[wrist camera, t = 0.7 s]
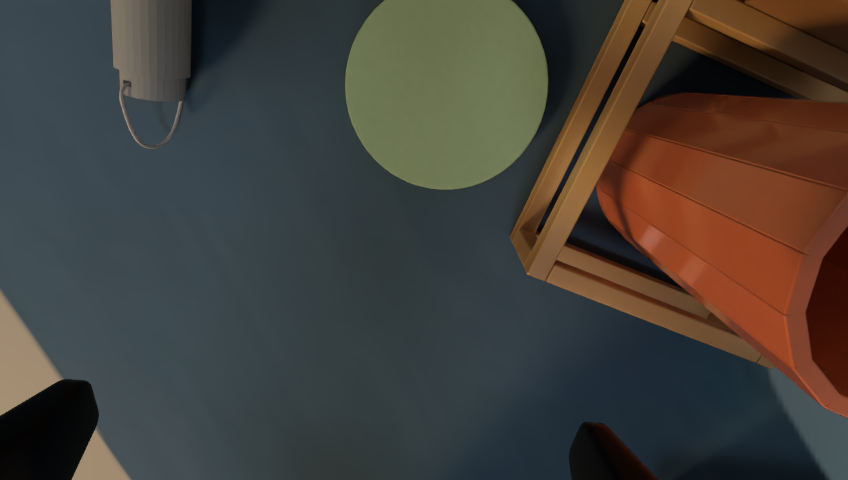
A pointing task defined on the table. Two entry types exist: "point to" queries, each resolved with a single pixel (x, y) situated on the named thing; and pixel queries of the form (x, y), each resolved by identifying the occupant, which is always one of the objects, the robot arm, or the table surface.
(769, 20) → the dish rack
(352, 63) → the coaster
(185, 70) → the kitchen whisk
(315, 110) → the table surface
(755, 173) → the tumbler
